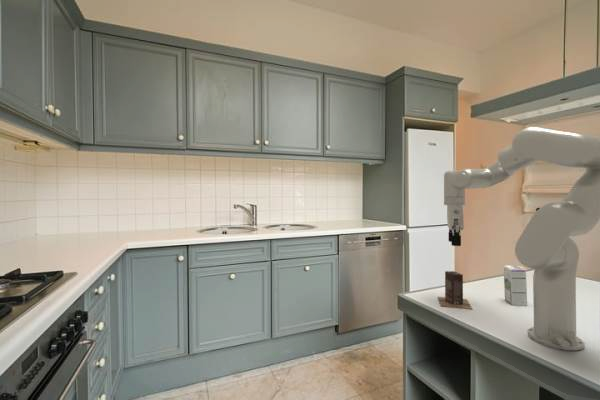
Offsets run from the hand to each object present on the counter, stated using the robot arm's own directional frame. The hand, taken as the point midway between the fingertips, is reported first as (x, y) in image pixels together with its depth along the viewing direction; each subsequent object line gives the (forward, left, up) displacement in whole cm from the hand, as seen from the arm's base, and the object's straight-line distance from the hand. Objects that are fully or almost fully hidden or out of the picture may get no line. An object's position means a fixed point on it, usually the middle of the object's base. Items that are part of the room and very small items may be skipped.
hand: (454, 243), depth 117 cm
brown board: (0, +1, -24) cm, 24 cm away
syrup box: (+7, -22, -24) cm, 34 cm away
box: (0, +1, -24) cm, 24 cm away
